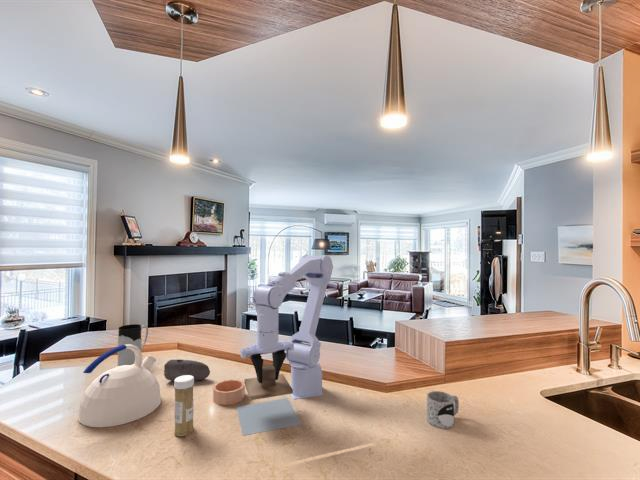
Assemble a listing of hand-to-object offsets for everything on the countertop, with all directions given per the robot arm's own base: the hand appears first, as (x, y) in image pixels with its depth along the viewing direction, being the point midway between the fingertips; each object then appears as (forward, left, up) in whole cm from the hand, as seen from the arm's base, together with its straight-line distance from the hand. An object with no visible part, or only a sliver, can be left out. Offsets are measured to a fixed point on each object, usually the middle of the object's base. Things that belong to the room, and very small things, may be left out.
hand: (267, 380), depth 89 cm
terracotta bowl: (+9, -14, -10) cm, 19 cm away
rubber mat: (0, 0, -10) cm, 10 cm away
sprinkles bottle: (+21, 0, -10) cm, 23 cm away
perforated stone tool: (+21, -33, -10) cm, 40 cm away
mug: (-44, +18, -10) cm, 49 cm away
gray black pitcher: (+41, -57, -10) cm, 71 cm away
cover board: (0, 0, -2) cm, 2 cm away
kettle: (+38, -19, -10) cm, 44 cm away
